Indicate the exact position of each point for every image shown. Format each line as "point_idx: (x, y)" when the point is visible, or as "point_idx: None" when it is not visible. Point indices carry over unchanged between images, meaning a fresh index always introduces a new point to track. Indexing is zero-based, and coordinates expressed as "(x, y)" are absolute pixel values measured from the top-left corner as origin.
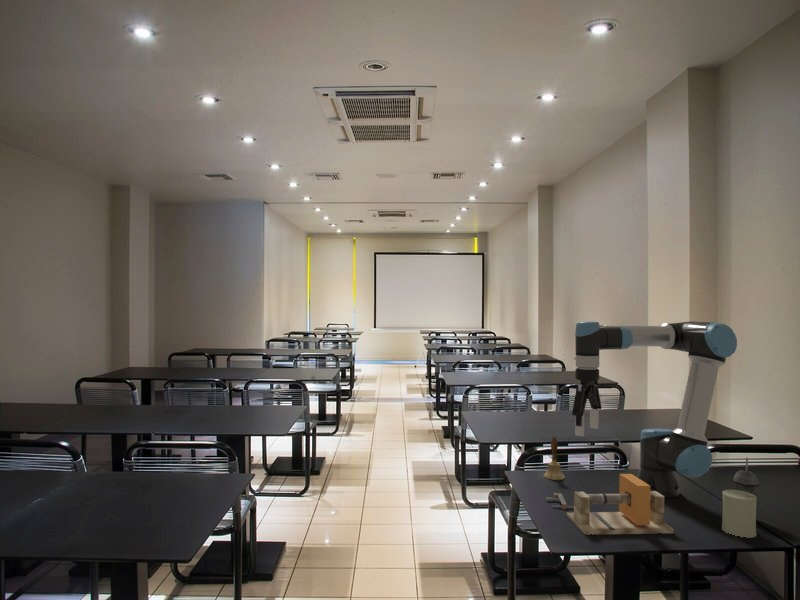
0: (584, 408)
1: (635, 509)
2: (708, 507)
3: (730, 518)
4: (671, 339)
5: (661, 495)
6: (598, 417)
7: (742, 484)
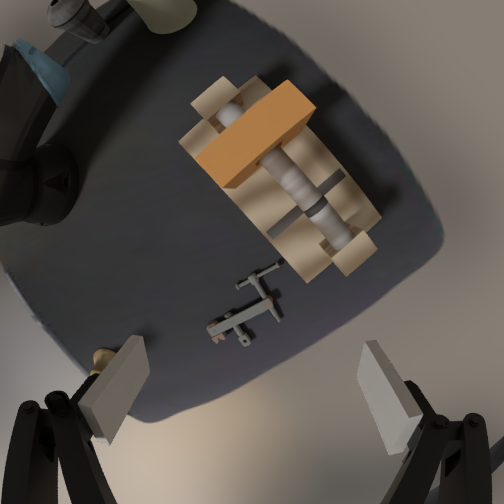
0: (414, 464)
1: (298, 130)
2: (79, 85)
3: (185, 3)
4: None
5: (220, 82)
6: (104, 370)
7: (83, 4)
